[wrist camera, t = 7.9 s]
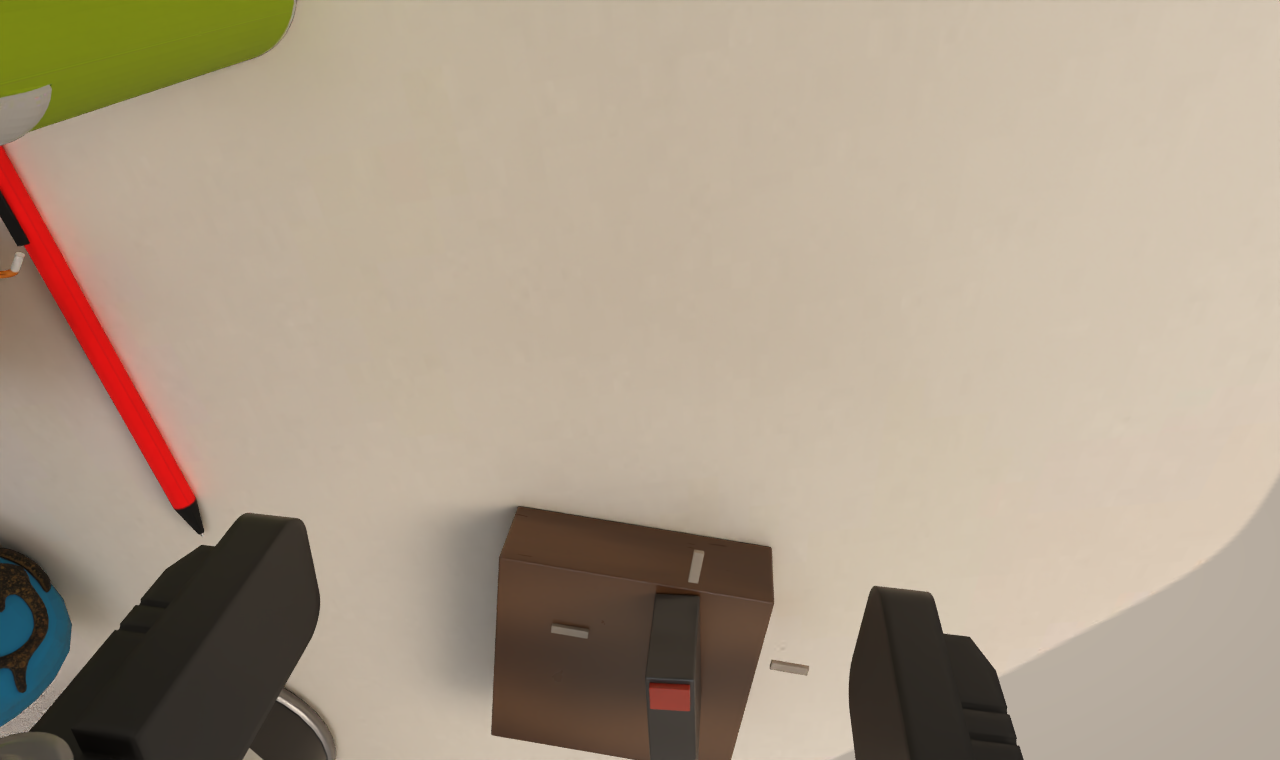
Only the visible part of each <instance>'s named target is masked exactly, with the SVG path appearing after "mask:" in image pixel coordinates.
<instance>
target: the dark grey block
mask: <svg viewBox="0 0 1280 760" xmlns="http://www.w3.org/2000/svg"><path fill="white" fill-rule="evenodd" d="M645 687H646V703H647V720H648V736H649V752H650V760H698V753H699V734H700V715H701V647H700V597H699V596H696V595H672V594H656V595H655V601H654V609H653V617H652V625H651V633H650V641H649V649H648V657H647V665H646V673H645Z"/></svg>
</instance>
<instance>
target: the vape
mask: <svg viewBox="0 0 1280 760" xmlns="http://www.w3.org/2000/svg"><path fill="white" fill-rule="evenodd" d="M295 8H296V0H0V146H1V145H4V144H7V143H10V142H12V141H15V140H17V139H18V138H20V137H22V136H23V135H25V134H26V133H28V132H30V131H33V130H36V129H39V128H42V127H45V126H48V125H51V124H54V123H57V122H60V121H63V120H66V119H69V118H72V117H76V116H79V115H82V114H85V113H88V112H91V111H94V110H97V109H100V108H103V107H106V106H109V105H112V104H115V103H118V102H121V101H124V100H127V99H130V98H133V97H136V96H139V95H142V94H146V93H149V92H152V91H155V90H158V89H161V88H164V87H167V86H170V85H173V84H176V83H179V82H182V81H185V80H188V79H191V78H194V77H197V76H200V75H203V74H206V73H209V72H212V71H215V70H219V69H222V68H225V67H228V66H231V65H234V64H237V63H240V62H243V61H246V60H249V59H252V58H255V57H258V56H260V55H262V54H264V53H266V52H268V51H269V50H271V49H272V48H273V47H274V46H275V45H276V44H278V43H279V41H280V40H281V39H282V38H283V36H284V35H285V34H286V32H287V30H288V28H289V27H290V25H291V22H292V20H293V16H294V13H295Z"/></svg>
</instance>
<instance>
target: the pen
mask: <svg viewBox="0 0 1280 760" xmlns="http://www.w3.org/2000/svg"><path fill="white" fill-rule="evenodd" d="M0 216H1V218H2V220H3V222H4V223H5V225H6V227H7V229H8V230H9V232H10V234H11V236H12V237H13V239H14V241H15V243H16V244H17V246H23V245H24V247H25V248H26V250H27V252H28V254H29V255H30V257H31V259H32V261H33V262H34V264H35V266H36V268H37V270H38V271H39V273H40V275H41V277H42V278H43V280H44V282H45V284H46V285H47V287H48V289H49V291H50V292H51V294H52V296H53V298H54V299H55V301H56V303H57V305H58V306H59V308H60V310H61V312H62V313H63V315H64V317H65V319H66V320H67V322H68V324H69V326H70V327H71V329H72V331H73V333H74V334H75V336H76V338H77V340H78V341H79V343H80V345H81V347H82V348H83V350H84V352H85V354H86V355H87V357H88V359H89V361H90V362H91V364H92V366H93V368H94V369H95V371H96V373H97V375H98V376H99V378H100V380H101V382H102V383H103V385H104V387H105V389H106V391H107V392H108V394H109V396H110V398H111V399H112V401H113V403H114V405H115V406H116V408H117V410H118V412H119V413H120V415H121V417H122V419H123V420H124V422H125V424H126V426H127V427H128V429H129V431H130V433H131V434H132V436H133V438H134V440H135V441H136V443H137V445H138V447H139V448H140V450H141V452H142V454H143V455H144V457H145V459H146V461H147V462H148V464H149V466H150V468H151V469H152V471H153V473H154V475H155V476H156V478H157V480H158V482H159V483H160V485H161V487H162V489H163V490H164V492H165V494H166V496H167V497H168V499H169V501H170V503H171V505H172V506H173V508H174V509H175V510H176V511H177V513H178V514H179V515H180V516H181V517H182V518H183V519H184V520H185V521H186V522H187V523H188V524H189V525H190V526H191V527H192V528H193V529H194V530H195V531H196V532H197V533H198V534H200V535H201V536H204V533H203V532H204V528H203V524H202V520H201V517H200V513H199V509H198V505H197V501H196V498H195V496H194V494H193V492H192V490H191V489H190V487H189V485H188V483H187V481H186V480H185V478H184V476H183V474H182V472H181V470H180V469H179V467H178V465H177V463H176V461H175V460H174V458H173V456H172V454H171V452H170V450H169V449H168V447H167V445H166V443H165V441H164V440H163V438H162V436H161V434H160V432H159V430H158V429H157V427H156V425H155V423H154V421H153V420H152V418H151V416H150V414H149V412H148V411H147V409H146V407H145V405H144V403H143V401H142V400H141V398H140V396H139V394H138V392H137V391H136V389H135V387H134V385H133V383H132V381H131V380H130V378H129V376H128V374H127V372H126V371H125V369H124V367H123V365H122V363H121V361H120V360H119V358H118V356H117V354H116V352H115V351H114V349H113V347H112V345H111V343H110V341H109V340H108V338H107V336H106V334H105V332H104V331H103V329H102V327H101V325H100V323H99V322H98V320H97V318H96V316H95V314H94V312H93V311H92V309H91V307H90V305H89V303H88V302H87V300H86V298H85V296H84V294H83V292H82V291H81V289H80V287H79V285H78V283H77V282H76V280H75V278H74V276H73V274H72V272H71V271H70V269H69V267H68V265H67V263H66V262H65V260H64V258H63V256H62V254H61V252H60V251H59V249H58V247H57V245H56V243H55V242H54V240H53V238H52V236H51V234H50V233H49V231H48V229H47V227H46V225H45V223H44V222H43V220H42V218H41V216H40V214H39V213H38V211H37V209H36V207H35V205H34V203H33V202H32V200H31V198H30V196H29V194H28V193H27V191H26V189H25V187H24V185H23V183H22V182H21V180H20V178H19V176H18V174H17V173H16V171H15V169H14V167H13V165H12V163H11V162H10V160H9V158H8V156H7V154H6V153H5V151H4V149H3V147H2V145H1V146H0Z"/></svg>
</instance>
